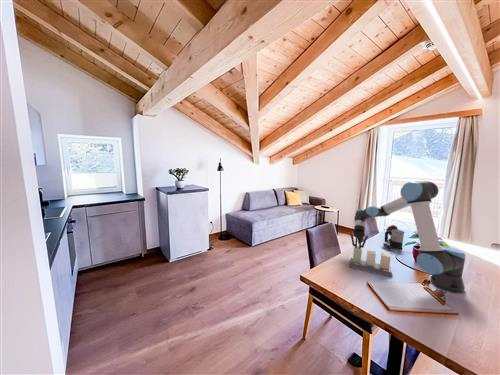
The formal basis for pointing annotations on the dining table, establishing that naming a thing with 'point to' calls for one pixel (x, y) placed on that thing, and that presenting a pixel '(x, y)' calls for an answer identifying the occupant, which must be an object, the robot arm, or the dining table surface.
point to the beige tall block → (385, 261)
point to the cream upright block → (370, 258)
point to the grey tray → (371, 268)
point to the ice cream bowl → (391, 229)
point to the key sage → (357, 255)
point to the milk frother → (394, 239)
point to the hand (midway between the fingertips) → (357, 255)
